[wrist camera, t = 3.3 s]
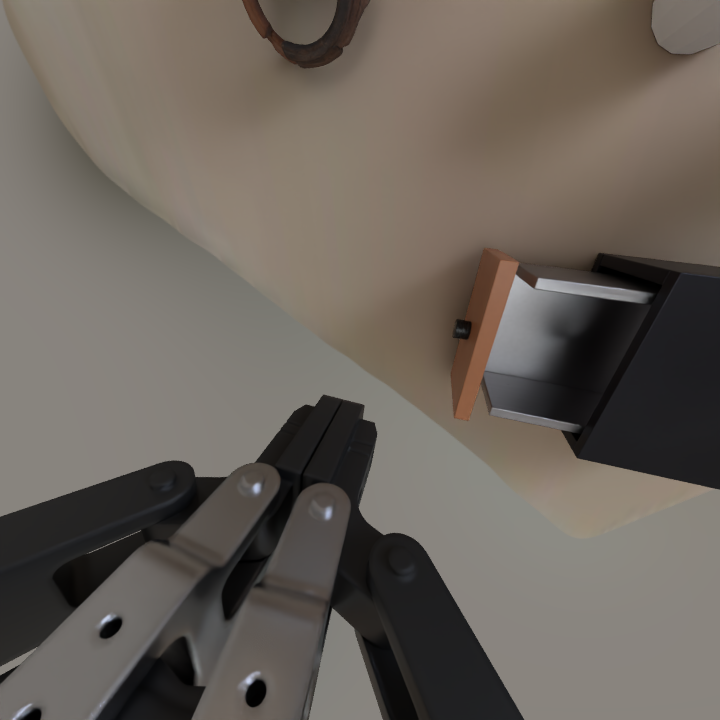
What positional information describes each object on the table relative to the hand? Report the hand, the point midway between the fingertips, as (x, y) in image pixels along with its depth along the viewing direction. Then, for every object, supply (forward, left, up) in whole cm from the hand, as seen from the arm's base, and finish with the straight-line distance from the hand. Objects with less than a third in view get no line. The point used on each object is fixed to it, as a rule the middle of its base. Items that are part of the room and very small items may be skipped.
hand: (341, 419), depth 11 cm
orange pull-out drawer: (+2, +13, -21) cm, 25 cm away
